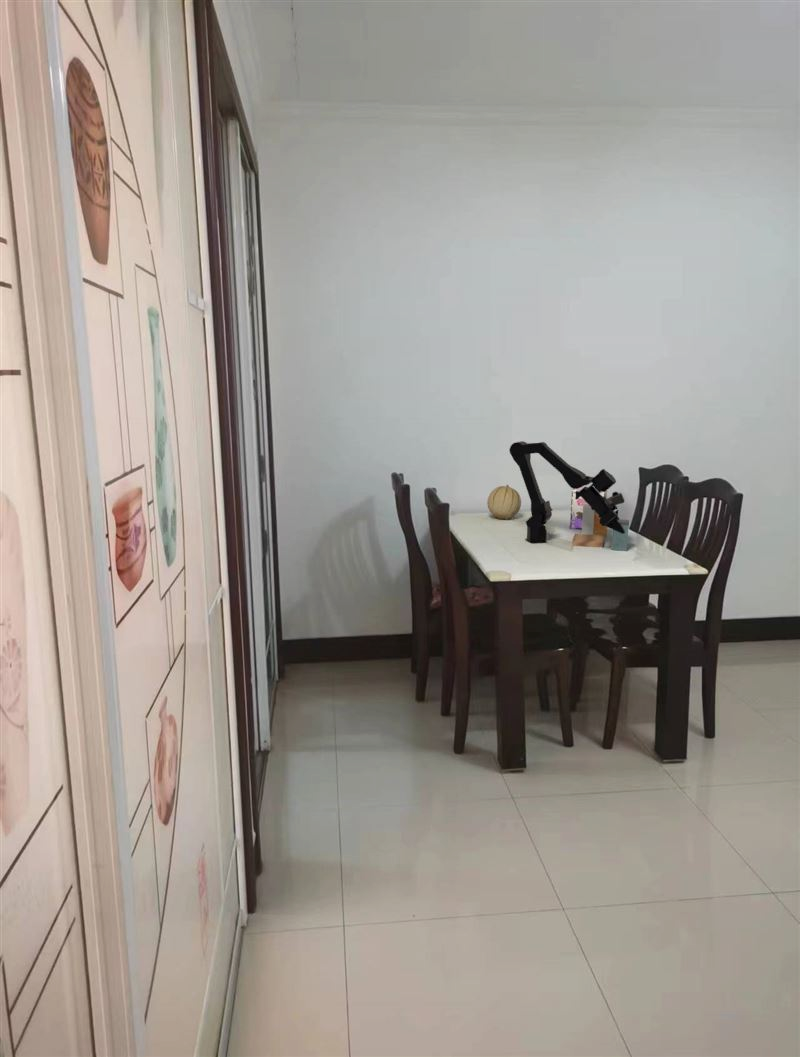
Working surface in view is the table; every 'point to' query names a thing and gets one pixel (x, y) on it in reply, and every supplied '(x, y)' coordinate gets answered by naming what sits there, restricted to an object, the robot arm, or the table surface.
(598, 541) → the walnut block
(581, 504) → the candy box
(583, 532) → the small box
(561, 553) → the table surface
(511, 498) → the cantaloupe
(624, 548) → the tea tin
